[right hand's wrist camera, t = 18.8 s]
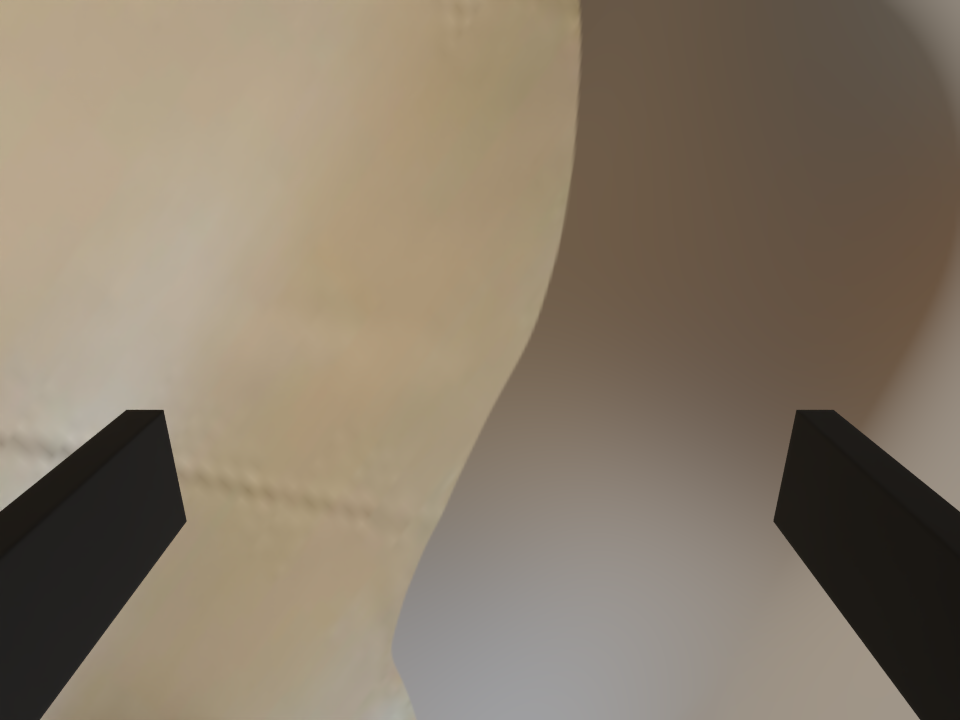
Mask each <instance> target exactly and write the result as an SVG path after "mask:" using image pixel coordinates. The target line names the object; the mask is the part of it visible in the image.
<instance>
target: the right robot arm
mask: <svg viewBox="0 0 960 720" xmlns="http://www.w3.org/2000/svg"><path fill="white" fill-rule="evenodd" d="M185 523H186V516H185V511H184V506H183V502H182V497H181V492H180V487H179V482H178V478H177V473H176V468H175V463H174V458H173V453H172V449H171V444H170V439H169V434H168V429H167V425H166V420H165V415H164V410H126V411H125V412H123V413H122V414H121V415H120V416H118V417H117V418H116V419H115V420H113V421H112V422H111V423H110V424H108V425H107V426H106V427H105V428H104V429H102V430H101V431H100V432H99V433H97V434H96V435H95V436H94V437H92V438H91V439H90V440H89V441H87V442H86V443H85V444H84V445H82V446H81V447H80V448H79V449H77V450H76V451H75V452H74V453H73V454H71V455H70V456H69V457H68V458H66V459H65V460H64V461H63V462H61V463H60V464H59V465H58V466H56V467H55V468H54V469H53V470H51V471H50V472H49V473H48V474H46V475H45V476H44V477H43V478H42V479H40V480H39V481H38V482H37V483H35V484H34V485H33V486H32V487H30V488H29V489H28V490H27V491H25V492H24V493H23V494H22V495H20V496H19V497H18V498H17V499H15V500H14V501H13V502H12V503H11V504H9V505H8V506H7V507H6V508H4V509H3V510H2V511H1V512H0V720H40V719H41V717H42V716H43V715H44V713H45V712H46V711H47V709H48V708H49V706H50V705H51V704H52V702H53V701H54V700H55V698H56V697H57V696H58V694H59V693H60V692H61V690H62V689H63V688H64V686H65V685H66V684H67V682H68V681H69V679H70V678H71V677H72V675H73V674H74V673H75V671H76V670H77V669H78V667H79V666H80V665H81V663H82V662H83V661H84V659H85V658H86V657H87V655H88V654H89V652H90V651H91V650H92V648H93V647H94V646H95V644H96V643H97V642H98V640H99V639H100V638H101V636H102V635H103V634H104V632H105V631H106V629H107V628H108V627H109V625H110V624H111V623H112V621H113V620H114V619H115V617H116V616H117V615H118V613H119V612H120V611H121V609H122V608H123V607H124V605H125V604H126V602H127V601H128V600H129V598H130V597H131V596H132V594H133V593H134V592H135V590H136V589H137V588H138V586H139V585H140V584H141V582H142V581H143V579H144V578H145V577H146V575H147V574H148V573H149V571H150V570H151V569H152V567H153V566H154V565H155V563H156V562H157V561H158V559H159V558H160V557H161V555H162V554H163V552H164V551H165V550H166V548H167V547H168V546H169V544H170V543H171V542H172V540H173V539H174V538H175V536H176V535H177V534H178V532H179V531H180V529H181V528H182V527H183V525H184V524H185ZM774 523H775V524H776V525H777V527H778V528H779V529H780V531H781V532H782V534H783V535H784V536H785V538H786V539H787V540H788V542H789V543H790V544H791V546H792V547H793V548H794V550H795V551H796V552H797V554H798V555H799V557H800V558H801V559H802V561H803V562H804V563H805V565H806V566H807V567H808V569H809V570H810V571H811V573H812V574H813V575H814V577H815V578H816V579H817V581H818V582H819V584H820V585H821V586H822V588H823V589H824V590H825V592H826V593H827V594H828V596H829V597H830V598H831V600H832V601H833V602H834V604H835V605H836V606H837V608H838V609H839V611H840V612H841V613H842V615H843V616H844V617H845V619H846V620H847V621H848V623H849V624H850V625H851V627H852V628H853V629H854V631H855V632H856V634H857V635H858V636H859V638H860V639H861V640H862V642H863V643H864V644H865V646H866V647H867V648H868V650H869V651H870V652H871V654H872V655H873V656H874V658H875V659H876V660H877V662H878V663H879V665H880V666H881V667H882V669H883V670H884V671H885V673H886V674H887V675H888V677H889V678H890V679H891V681H892V682H893V684H894V685H895V686H896V688H897V689H898V690H899V692H900V693H901V694H902V696H903V697H904V698H905V700H906V701H907V702H908V704H909V705H910V706H911V708H912V709H913V711H914V712H915V713H916V715H917V716H918V717H919V719H920V720H960V512H959V511H958V510H957V509H956V508H954V507H953V506H952V505H951V504H949V503H948V502H947V501H946V500H945V499H943V498H942V497H941V496H940V495H938V494H937V493H936V492H935V491H933V490H932V489H931V488H930V487H928V486H927V485H926V484H925V483H923V482H922V481H921V480H920V479H918V478H917V477H916V476H915V475H914V474H912V473H911V472H910V471H909V470H907V469H906V468H905V467H904V466H902V465H901V464H900V463H899V462H897V461H896V460H895V459H894V458H892V457H891V456H890V455H889V454H887V453H886V452H885V451H884V450H882V449H881V448H880V447H879V446H878V445H876V444H875V443H874V442H873V441H871V440H870V439H869V438H868V437H866V436H865V435H864V434H863V433H861V432H860V431H859V430H858V429H856V428H855V427H854V426H853V425H852V424H850V423H849V422H848V421H847V420H845V419H844V418H843V417H842V416H840V415H839V414H838V413H837V412H835V411H834V410H797V411H796V415H795V420H794V425H793V429H792V434H791V439H790V444H789V449H788V453H787V458H786V463H785V468H784V473H783V478H782V482H781V487H780V492H779V497H778V502H777V507H776V511H775V516H774Z"/></svg>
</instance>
